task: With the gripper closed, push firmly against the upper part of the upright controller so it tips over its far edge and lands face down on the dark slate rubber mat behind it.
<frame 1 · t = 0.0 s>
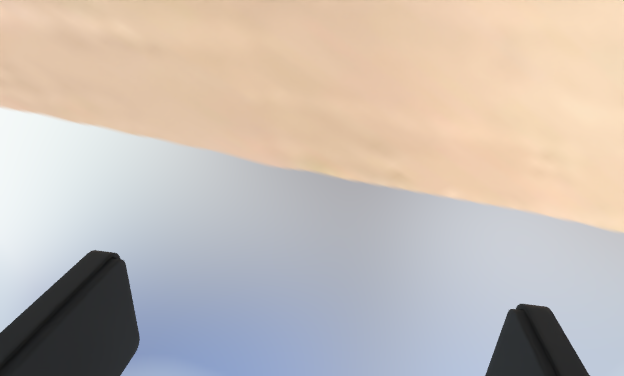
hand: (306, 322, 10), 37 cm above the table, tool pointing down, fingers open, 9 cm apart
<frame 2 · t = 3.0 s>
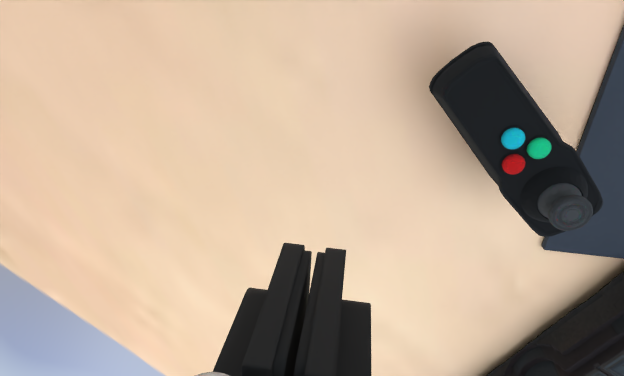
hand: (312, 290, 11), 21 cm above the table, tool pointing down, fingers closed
controller: (484, 113, 29), on the table
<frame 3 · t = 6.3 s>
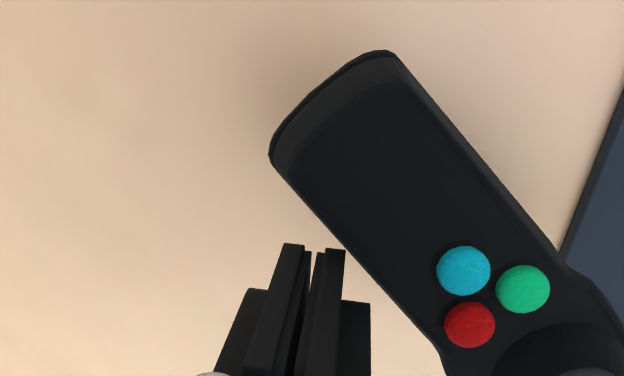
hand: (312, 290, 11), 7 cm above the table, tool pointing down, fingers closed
controller: (406, 186, 17), on the table, touching gripper
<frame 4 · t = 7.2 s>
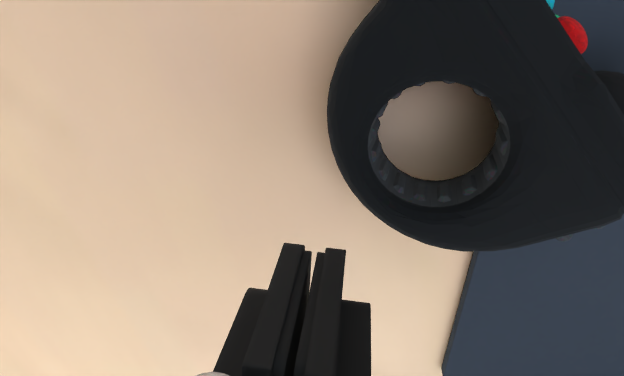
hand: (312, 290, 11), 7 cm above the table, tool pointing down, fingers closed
controller: (342, 172, 15), point 2 cm above the table, touching mat
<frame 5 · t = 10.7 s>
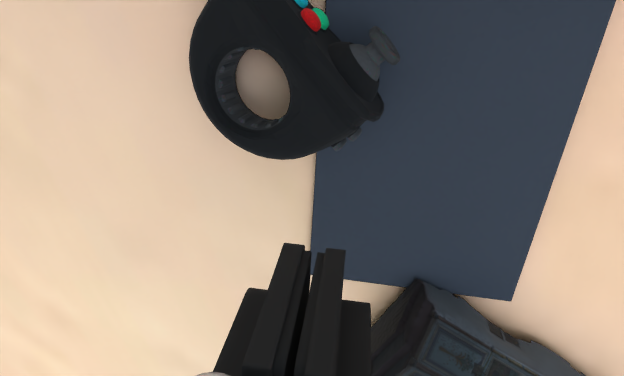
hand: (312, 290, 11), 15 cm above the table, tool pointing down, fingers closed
controller: (211, 112, 23), point 2 cm above the table, touching mat
mat: (434, 143, 24), on the table
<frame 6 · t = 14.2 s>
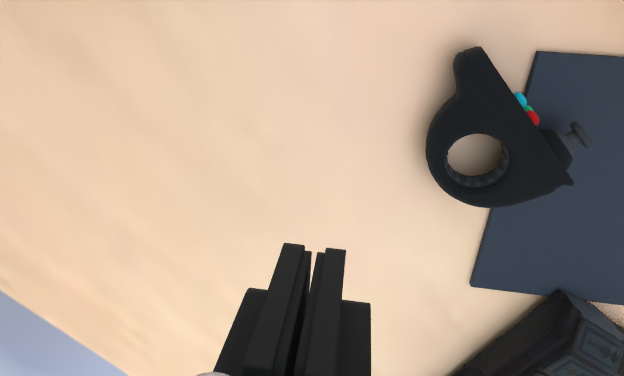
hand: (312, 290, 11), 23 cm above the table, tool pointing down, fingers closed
controller: (427, 171, 31), point 2 cm above the table, touching mat
mat: (586, 191, 32), on the table
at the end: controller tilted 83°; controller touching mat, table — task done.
